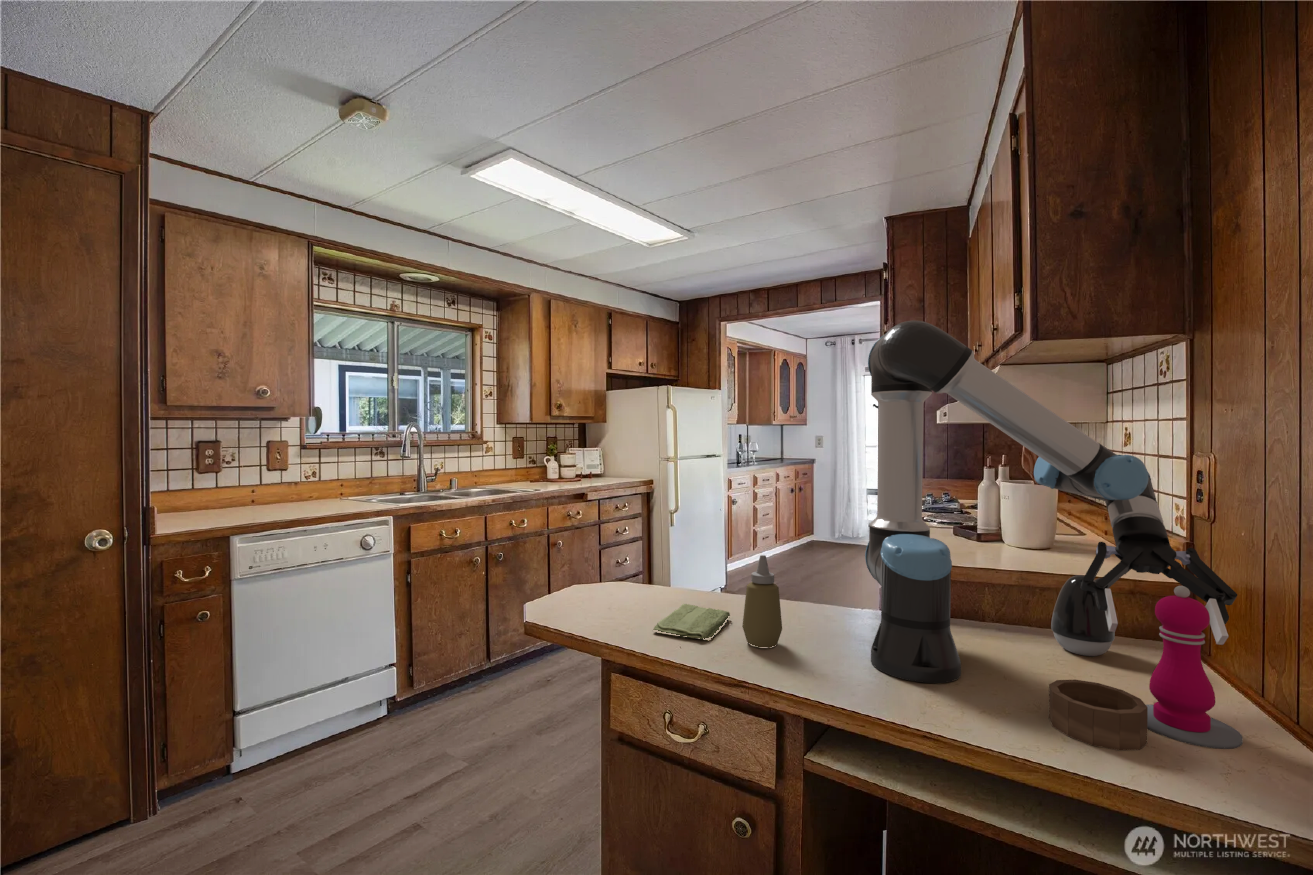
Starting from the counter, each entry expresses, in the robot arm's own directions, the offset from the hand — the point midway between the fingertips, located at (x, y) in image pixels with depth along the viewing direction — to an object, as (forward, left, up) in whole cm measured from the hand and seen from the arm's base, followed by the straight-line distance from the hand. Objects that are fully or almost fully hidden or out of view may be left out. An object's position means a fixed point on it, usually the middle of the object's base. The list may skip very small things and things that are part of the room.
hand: (1166, 633), depth 93 cm
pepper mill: (+4, -8, -11) cm, 14 cm away
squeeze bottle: (-55, -35, -11) cm, 66 cm away
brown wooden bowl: (-3, -20, -11) cm, 23 cm away
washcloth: (-71, -39, -12) cm, 82 cm away
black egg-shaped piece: (-17, +16, -11) cm, 26 cm away
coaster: (+4, -8, -11) cm, 14 cm away
